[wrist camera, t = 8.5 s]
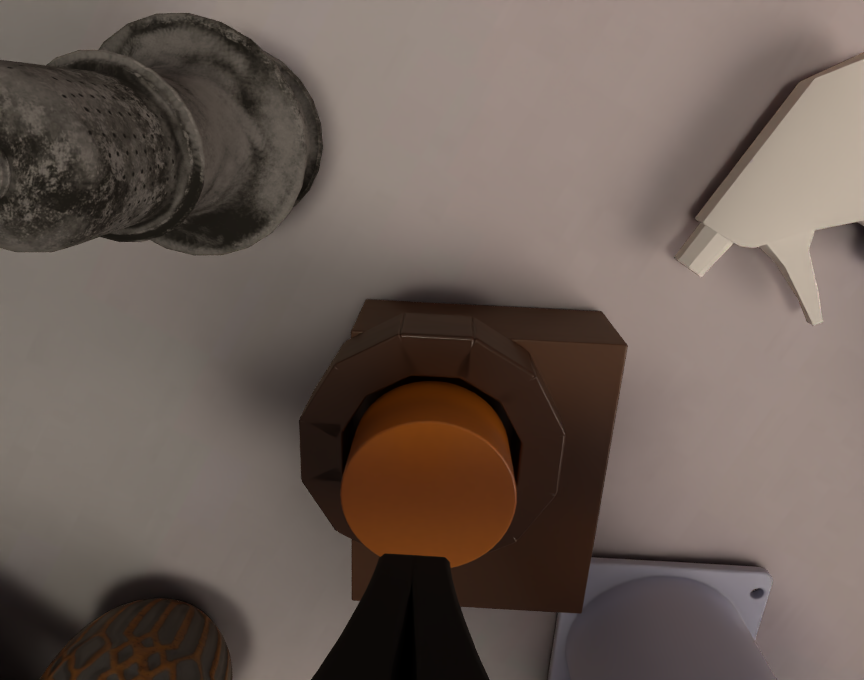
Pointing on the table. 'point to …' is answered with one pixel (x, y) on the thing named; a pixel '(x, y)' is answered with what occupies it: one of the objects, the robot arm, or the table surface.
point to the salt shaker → (154, 141)
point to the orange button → (429, 474)
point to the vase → (145, 646)
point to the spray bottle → (792, 183)
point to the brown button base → (521, 416)
